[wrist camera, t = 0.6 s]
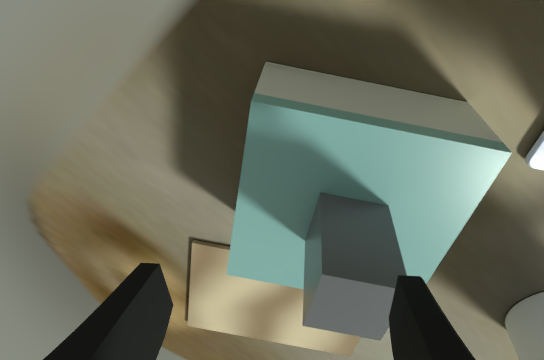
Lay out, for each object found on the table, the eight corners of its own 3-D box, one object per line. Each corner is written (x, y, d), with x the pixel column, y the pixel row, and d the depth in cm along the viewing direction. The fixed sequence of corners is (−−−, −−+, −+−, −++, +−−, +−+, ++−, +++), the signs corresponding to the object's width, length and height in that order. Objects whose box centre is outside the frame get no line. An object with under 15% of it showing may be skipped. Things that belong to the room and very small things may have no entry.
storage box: (468, 102, 18) (503, 142, 14) (393, 245, 23) (406, 297, 20) (265, 61, 17) (254, 92, 14) (241, 215, 23) (229, 263, 20)
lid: (494, 133, 15) (584, 236, 10) (403, 285, 21) (431, 398, 16) (257, 85, 15) (227, 166, 10) (231, 252, 21) (205, 356, 16)
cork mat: (391, 277, 25) (392, 281, 25) (349, 352, 31) (350, 356, 31) (193, 239, 25) (192, 242, 25) (188, 322, 31) (187, 325, 30)
